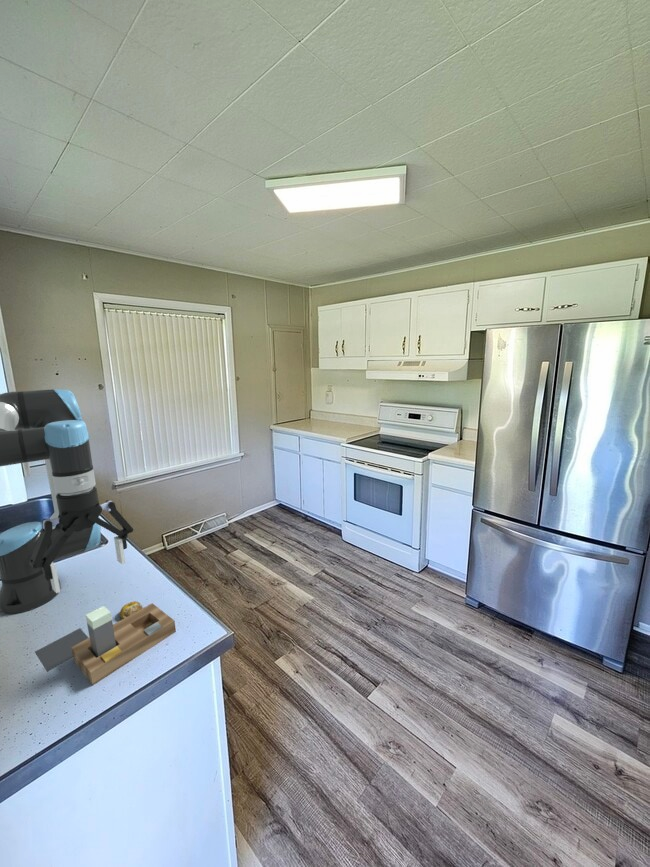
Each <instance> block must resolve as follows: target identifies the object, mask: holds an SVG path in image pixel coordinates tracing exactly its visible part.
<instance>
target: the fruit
mask: <svg viewBox="0 0 650 867" xmlns="http://www.w3.org/2000/svg"><path fill="white" fill-rule="evenodd" d="M143 608H144V607H143V605H142V604H141V602H138V601H131V602H128V603H126V604H124V605H123V606H122V607H121V609H120V612H119V617H120V619H121V620H122V619H124V618H126V617H128V616H130V615H132V614H133V613H135V612H137V611H139V610H141V609H143Z"/></svg>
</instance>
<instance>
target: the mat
mask: <svg viewBox="0 0 650 867" xmlns="http://www.w3.org/2000/svg"><path fill="white" fill-rule="evenodd" d="M88 638H89V636H88V635H87V634H86V633H85V632H84V631H83V629H82V628H80V627H79V628H77V629H76V630H73V631H72V632H70V633H68V634H66V635H64V636H62V637H60V638H59V639H56V640H55V641H53V642H50V643H49V644H46V645H45V646H42V647H41V648H39V649H37V650H35V651H34V652H35V654H36V656H37V657H38V659H39V660H40V662H41V664H42V665H43V667H44V669H45V670H46V672H49V671H51V670H53V669H55V668H57V667H58V666H61V665H62V664H63V663H66V662H67V661H69V660H71V659H73V654H72V649H71V647H73V646H75V645H77V644H79V643H81V642H82V641H84V640H86V639H88Z"/></svg>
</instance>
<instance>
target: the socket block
mask: <svg viewBox="0 0 650 867" xmlns="http://www.w3.org/2000/svg"><path fill="white" fill-rule="evenodd" d="M113 629H114V635H115V641H116V647H114V648H113V649H111V650H109V651H107V652H106V653H104V654H102V655H101V656H99V657H97V658H96V657H95V656H94V655H93V654H92V648H91V643H90V637H88V639H86V640H84V641H82V642H81V643H79V644H77V645H75V646H73V647H71V649H72V654H73V658H72V659H73V662H75V664H76V665H77V667H78V668H79V669H80V671H81V672H82V674H84V676H85V677H86V678H87V681H89V682H90V684H91V685H92V686H95V685H96V684H98V683H99V682H101V681H102V680H103V679H105V678H107V677H108V676H110V675H112V674H113V673H115V672H117V671H118V670H119V669H121V668H122V667H124V666H126V665H127V664H129V663H131V662H132V661H133V660H134V659H136V658H138V657H139V656H141V655H143V654H144V653H145V652H147V651H149V650H151V649H152V648H153V647H155V646H157V645H158V644H160V643H161V642H163V641H164V640H165V639H168V638H169V637H170V636H172V635H173V634H175V633H176V632H177V631H176V622H175V619H173V618H172V617H170V615H169V614H167V613H165V612H164V611H163V610H161V609H160V608H159V607H158V606H157V605H155V604H154V603H150V604H148V605H146V606H144V607H143V609H141V610H139V611H137V612H135V613H133V614H132V615H130V616H128V617H126V618H124V619H121V620H119V621H117V622H115V623H114V624H113Z"/></svg>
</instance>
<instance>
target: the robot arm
mask: <svg viewBox="0 0 650 867" xmlns="http://www.w3.org/2000/svg"><path fill="white" fill-rule="evenodd" d="M81 413H82V412H81V408H80V407H79V404H78V401H77V399H76V397H75V395H74V393H73V392H72V391H71V390H69V389H64V388H63V389H58V388H57V389H56V388H52V389H41V390H39V389H38V390H27V391H26V390H25V391H24V390H23V391H9V392H4V393H0V467H6V466H12V465H18V464H24V463H30V462H39V461H44V463H45V468H46V473H47V477H48V483H49V489H50V495H51V500H52V505H53V511H54V512H53V513H52V515H51V516H50V517H49V519H48V518H43V519H42V520H41V521H30V522H25V523H20V524H17V525H16V526H13V527H11V528H9V529H7V530H5V531H3V532H1V533H0V580H1V587H0V612H1V613H3V614H6V613H7V614H8V615H12V614H13V615H14V614H21V613H24V612H28V611H31V610H33V609H34V610H35V609H36V608H38V607H41V606H42V605H43V606H44V605H45V604H47V603H48V602H50V601H51V600H53V599H54V598H56V597H57V596H58V595H59V593H60V592H61V590H62V587H61V586H62V585H61V581H60V579H59V576H58V572H57V566H56V564H55V563H54V562H55V561H58V560H60V559H63V558H67V557H70V556H73V555H76V554H80V553H85V552H87V551H89V550H92V549H95V548H97V547H98V546H99V545H100V543H101V537H102V536H101V534H102V531H101V527H102V528H104V529H106V530H107V531H109V532H111V533H113V534H114V535H116V536H114V537H113V540H114V546H115V553H116V559H117V560H116V561H117V562H118V563H119V564H121V565H122V566H123V565H125V564H126V558H125V551H124V550H125V549H127V548H128V543H127V538H128V535H129V534H130V533H133V532H134V528H133V527H132V526H131V524H130V523H129V522H128V521H127V520H126V519H125V518H124V517H123V515H122V514H121V513H120V512H119V510H117V507H116V503H115V502H114V501H112V500H109V499H107V500H105V502H104V503H101V504H100V502H99V500H100V499H99V495H98V490H97V487H95V486H96V485H97V483H96V477H95V470H94V466H93V460H92V452H91V445H90V439H89V438H90V434H89V432H88V427H87V423H86V422H85V421H84V420H83V417H82V414H81ZM103 511H105V512H108V513H109V515H111V516H112V517H113V519H114V520H115V521H116V522H117V523H118V525H120V526H121V527H122V529H119V528H117V527H115V526H114V525H112V524H110V523H108V522H107V521H105V520H103V519H101V518H100V515H101V514H102V513H103ZM7 614H6V615H7Z"/></svg>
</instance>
